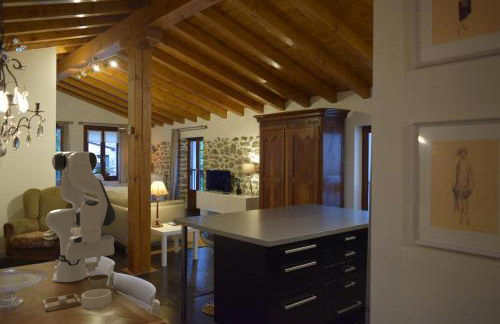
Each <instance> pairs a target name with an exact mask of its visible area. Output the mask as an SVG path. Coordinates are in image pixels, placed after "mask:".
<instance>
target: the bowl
mask: <svg viewBox="0 0 500 324" xmlns="http://www.w3.org/2000/svg"><path fill="white" fill-rule="evenodd" d="M80 300H81V305H80V306H82V308H84V309H86V310H87V309H88V310H92V309H93V310H95V309H100V308H105V307H107V306H109V305H110V304H111V303H112V300H113V299H112V291H111V290H110V289H109V288H106V289H94V290H91V289H90V290H87V291H85V292H83V293H81V295H80Z"/></svg>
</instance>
